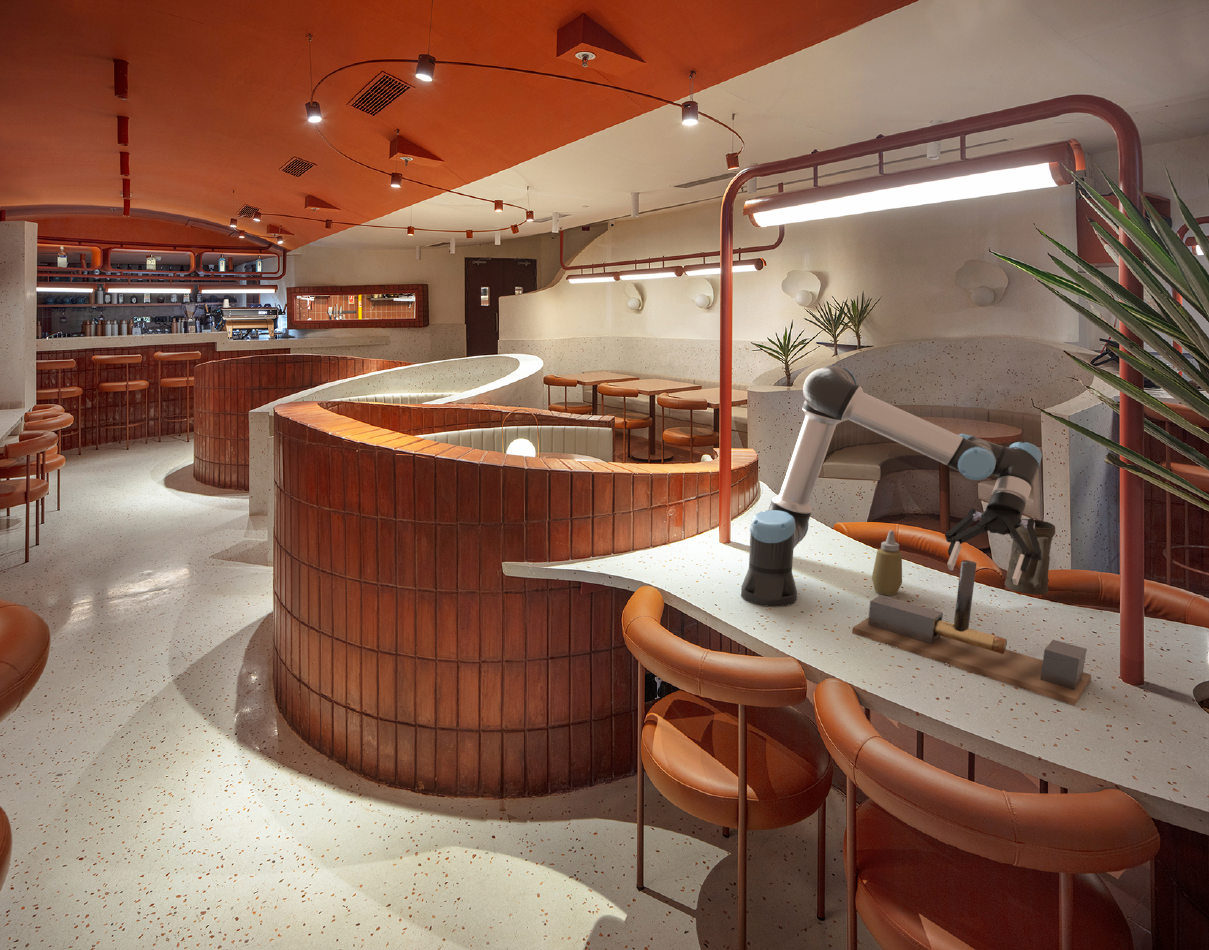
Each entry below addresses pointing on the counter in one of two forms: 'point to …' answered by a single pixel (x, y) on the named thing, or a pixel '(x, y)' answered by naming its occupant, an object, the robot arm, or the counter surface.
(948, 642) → the base board
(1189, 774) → the counter surface
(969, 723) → the counter surface
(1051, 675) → the socket
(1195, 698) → the counter surface
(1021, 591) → the beer stein
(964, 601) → the sliding bolt
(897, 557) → the squeeze bottle
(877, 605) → the outer sleeve
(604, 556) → the counter surface
